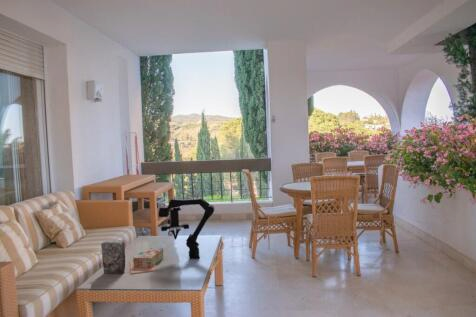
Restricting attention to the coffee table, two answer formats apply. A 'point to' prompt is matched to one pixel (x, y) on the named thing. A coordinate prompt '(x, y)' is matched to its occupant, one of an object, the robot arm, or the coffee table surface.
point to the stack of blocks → (148, 258)
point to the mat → (141, 268)
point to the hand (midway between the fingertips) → (175, 239)
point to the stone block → (113, 256)
